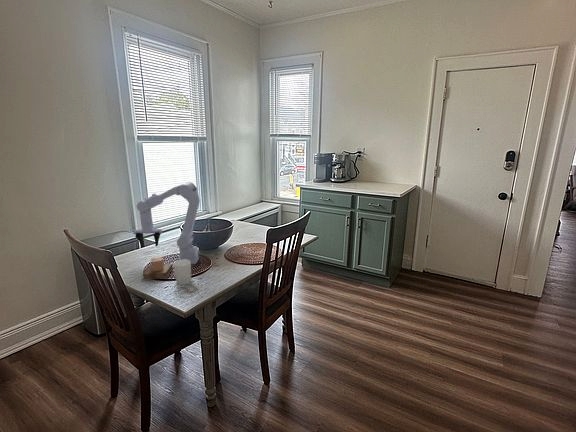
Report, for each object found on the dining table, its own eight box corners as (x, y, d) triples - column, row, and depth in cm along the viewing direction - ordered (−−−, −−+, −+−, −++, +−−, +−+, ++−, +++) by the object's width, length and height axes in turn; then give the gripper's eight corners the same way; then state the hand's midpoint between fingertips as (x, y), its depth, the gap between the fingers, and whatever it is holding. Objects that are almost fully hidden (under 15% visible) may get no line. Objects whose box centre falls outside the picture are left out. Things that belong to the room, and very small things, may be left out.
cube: (162, 265, 164) (161, 256, 162) (163, 269, 159) (162, 260, 158) (152, 267, 161) (151, 258, 160) (153, 271, 157) (151, 262, 156)
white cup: (182, 287, 147) (180, 267, 145) (171, 283, 151) (169, 263, 149) (195, 280, 154) (194, 261, 151) (184, 276, 158) (182, 258, 155)
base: (172, 269, 167) (172, 263, 166) (166, 278, 156) (165, 272, 155) (151, 270, 166) (150, 264, 165) (143, 279, 155) (142, 273, 155)
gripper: (162, 219, 175) (165, 242, 179) (135, 220, 174) (139, 243, 178) (158, 223, 168) (161, 247, 172) (130, 224, 167) (134, 248, 171)
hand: (149, 245), depth 174 cm, fingers open, 7 cm apart
